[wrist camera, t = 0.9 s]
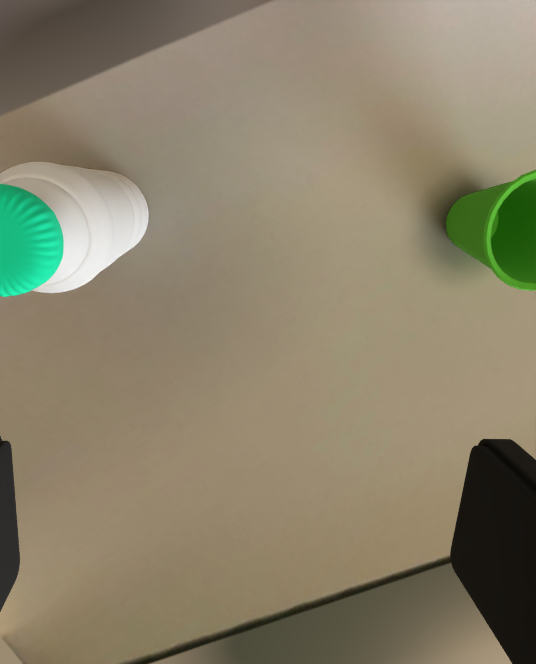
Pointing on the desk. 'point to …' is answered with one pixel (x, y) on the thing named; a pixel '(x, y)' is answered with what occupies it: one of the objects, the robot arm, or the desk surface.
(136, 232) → the water bottle
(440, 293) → the desk surface
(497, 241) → the cup
